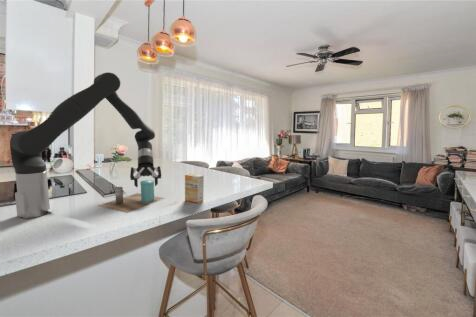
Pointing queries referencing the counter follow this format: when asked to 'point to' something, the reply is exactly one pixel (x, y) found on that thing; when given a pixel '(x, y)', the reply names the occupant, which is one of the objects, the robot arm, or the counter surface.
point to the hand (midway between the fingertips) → (146, 185)
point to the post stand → (127, 201)
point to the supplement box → (194, 187)
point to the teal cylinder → (147, 190)
